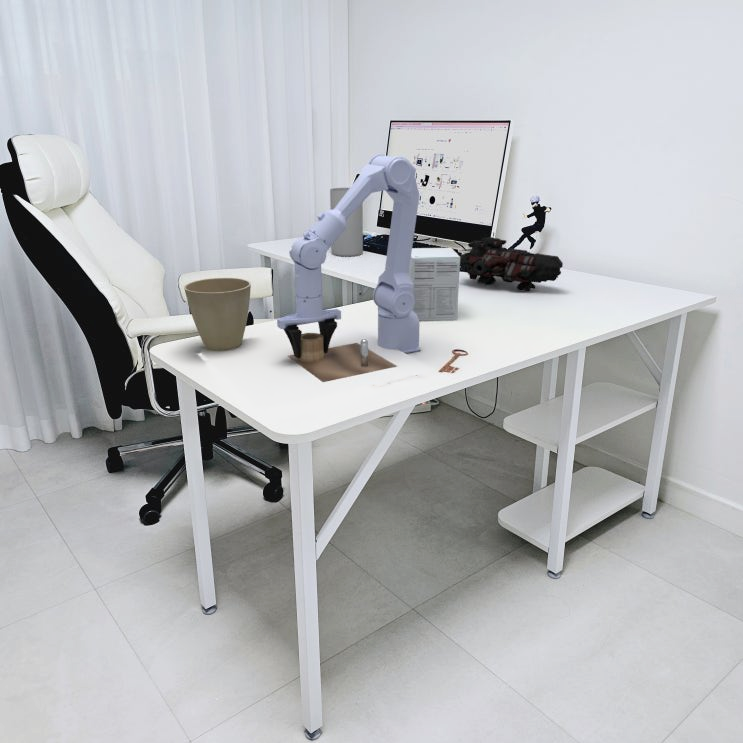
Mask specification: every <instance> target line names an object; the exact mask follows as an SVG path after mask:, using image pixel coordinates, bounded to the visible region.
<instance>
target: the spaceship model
mask: <svg viewBox="0 0 743 743" xmlns="http://www.w3.org/2000/svg"><path fill="white" fill-rule="evenodd" d="M505 244H507V240H505V239H500V238H498V237H493V236H489V237H482V238H481V240H472V242H469V243H468V244H467V246H468V248H471V249H470V251H469V252H468V251H467V252H464V253H462V254H461V255H460V268H461V270H462V271H463V272H464V273H467V275H469V279H470V280H477V283H478V284H482V285H483V284H484V285H485V286H491V285H493V284H495V282H496V278H501V280H502V281H503V283H514V282H518V284H517V286H516V289H517V291H520V292H522V291H524V292H530V291H531V289H533V290H534V289H536V284H534V283H537V284H541V283H542V282H544V283H546V282H548V281H550V282H551V281H552V282H554V281H555V280H557V279H558V278H559V276H560V275H561V274H562V271H561V269H562V268H563V267H564V266H563V264H564V262H563V261H562V259H560V257H559V256H558V255H550V254H543V253H539V252H537V253H532V252H530V251H528V250H525V249H516V248H511V247H510V248H507V247H503V246H504V245H505ZM495 277H496V278H495ZM477 278H478V279H477Z"/></svg>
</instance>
